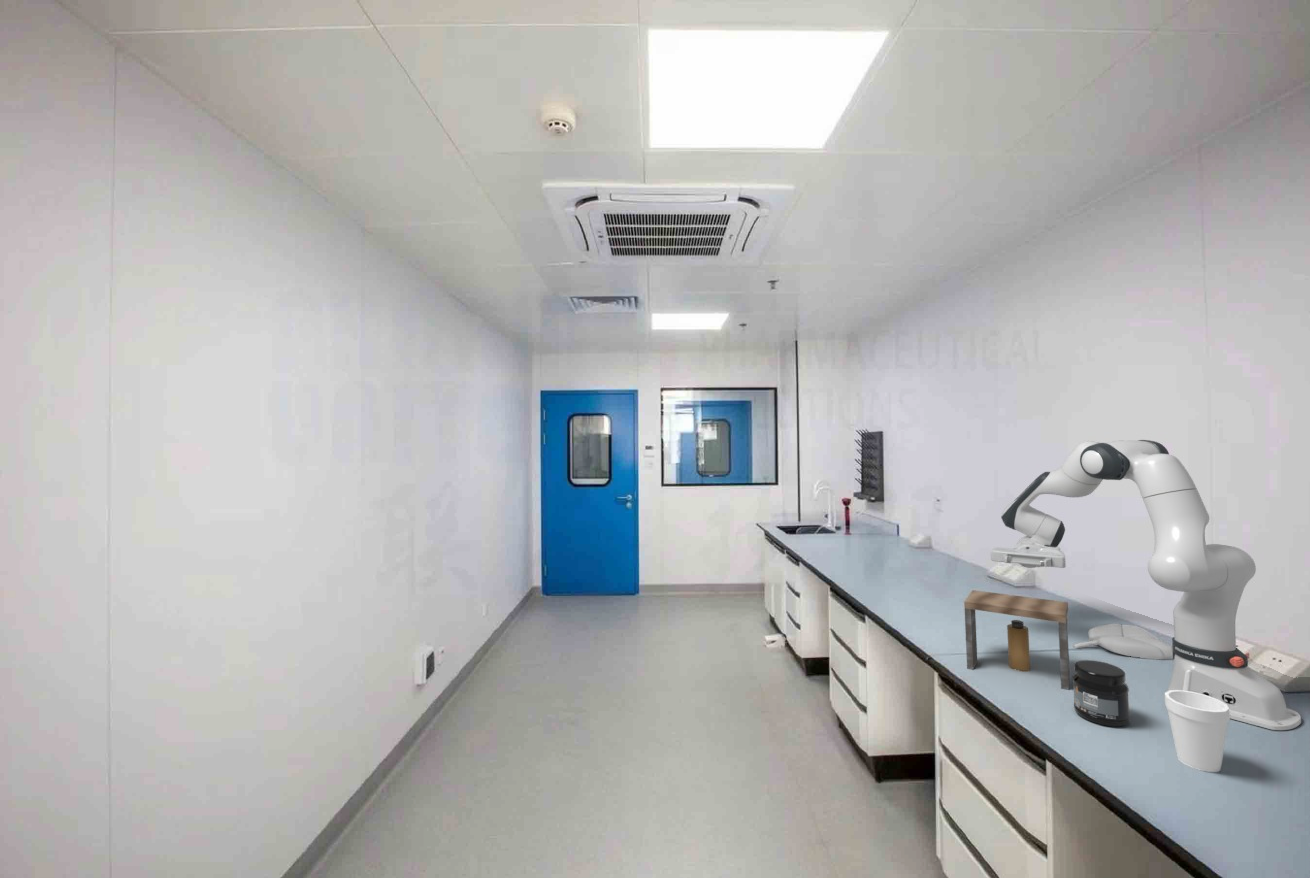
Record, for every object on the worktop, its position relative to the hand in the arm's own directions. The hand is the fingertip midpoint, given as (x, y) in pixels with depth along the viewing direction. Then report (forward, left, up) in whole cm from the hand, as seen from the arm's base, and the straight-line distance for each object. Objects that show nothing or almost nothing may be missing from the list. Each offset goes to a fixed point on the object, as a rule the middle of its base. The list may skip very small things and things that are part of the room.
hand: (1025, 562), depth 171 cm
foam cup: (-51, +31, -28) cm, 66 cm away
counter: (-7, +17, -28) cm, 34 cm away
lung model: (-13, -24, -29) cm, 39 cm away
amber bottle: (-6, +15, -28) cm, 33 cm away
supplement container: (-32, +27, -28) cm, 50 cm away
